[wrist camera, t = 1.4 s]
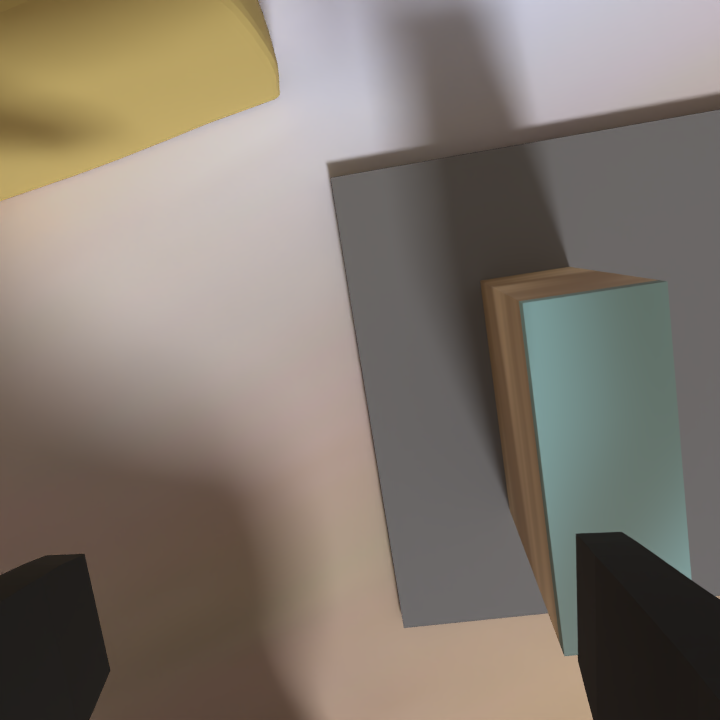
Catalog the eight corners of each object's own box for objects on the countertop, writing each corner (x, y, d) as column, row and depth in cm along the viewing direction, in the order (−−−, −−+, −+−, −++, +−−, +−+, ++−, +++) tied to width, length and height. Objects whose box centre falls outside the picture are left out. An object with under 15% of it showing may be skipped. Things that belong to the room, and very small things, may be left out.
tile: (509, 510, 20) (564, 656, 13) (480, 280, 18) (522, 303, 11) (594, 500, 19) (696, 643, 12) (569, 266, 18) (667, 281, 11)
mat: (403, 620, 21) (404, 627, 20) (332, 179, 19) (330, 178, 18) (935, 565, 19) (946, 572, 19) (929, 74, 17) (941, 70, 17)
